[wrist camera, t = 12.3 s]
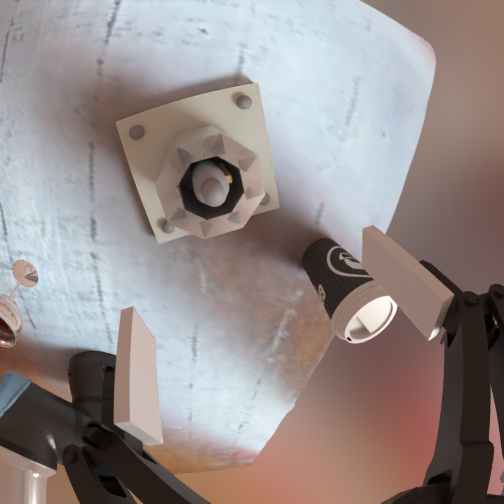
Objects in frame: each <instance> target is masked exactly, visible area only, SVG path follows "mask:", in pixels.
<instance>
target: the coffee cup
mask: <svg viewBox="0 0 504 504" xmlns="http://www.w3.org/2000/svg"><path fill="white" fill-rule="evenodd" d="M303 267H304V269H305V271H306V272H307V274H308V276H309V278H310V280H311V282H312V284H313V286H314V288H315V290H316V292H317V293H318V295H319V297H320V299H321V301H322V303H323V305H324V307H325V309H326V311H327V313H328V315H329V317H330V319H331V329H332V331H333V333H334V334H336V335H337V336H338V337H340V338H341V339H344V340H346V341H348V342H350V343H361V342H364V341H367V340H369V339H371V338H373V337H374V336H376V335H377V334H379V333H380V332H381V331H382V330H383V329H384V328H385V327H386V326H387V325H388V324H389V323H390V321H391V320H392V318H393V317H394V315H395V313H396V309H397V304H396V303H395V302H394V301H393V300H392V299H391V297H390V296H389V295H388V294H387V293H386V292H385V291H384V290H383V289H382V288H381V287H380V286H379V284H378V283H377V282H376V281H375V280H374V279H373V278H372V277H371V276H370V275H369V274H368V273H367V272H366V271H365V270H364V269H363V268H362V264H361V263H360V262H359V261H358V260H356V259H355V258H354V257H353V256H352V255H350V254H349V253H348V252H347V251H346V250H344V249H343V248H342V247H341V246H340V245H338V244H337V243H336V242H335V241H333V240H331V239H321V240H318V241H316V242H314V243H313V244H312V245H311V246H309V248H308V249H307V250H306V252H305V254H304V256H303Z"/></svg>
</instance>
